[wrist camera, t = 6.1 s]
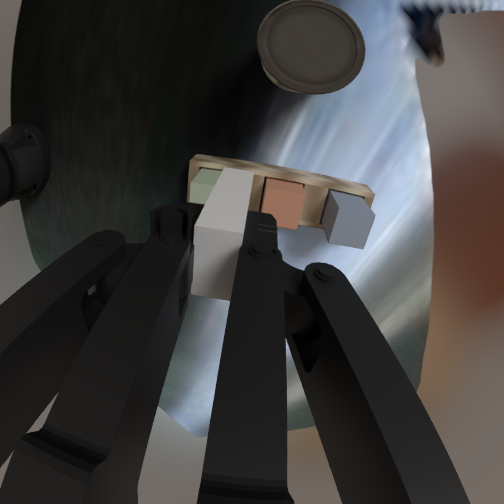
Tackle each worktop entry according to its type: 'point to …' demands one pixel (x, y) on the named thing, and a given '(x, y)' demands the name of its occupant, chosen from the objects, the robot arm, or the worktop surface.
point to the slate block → (346, 219)
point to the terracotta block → (283, 201)
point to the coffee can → (310, 47)
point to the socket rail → (311, 182)
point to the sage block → (203, 184)
